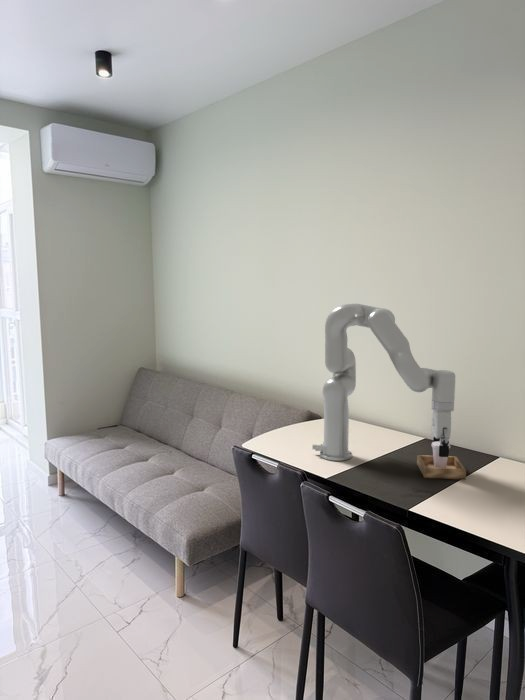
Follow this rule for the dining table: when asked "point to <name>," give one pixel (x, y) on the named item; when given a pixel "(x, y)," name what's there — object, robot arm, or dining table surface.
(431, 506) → the dining table surface
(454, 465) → the box
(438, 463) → the smoothie
